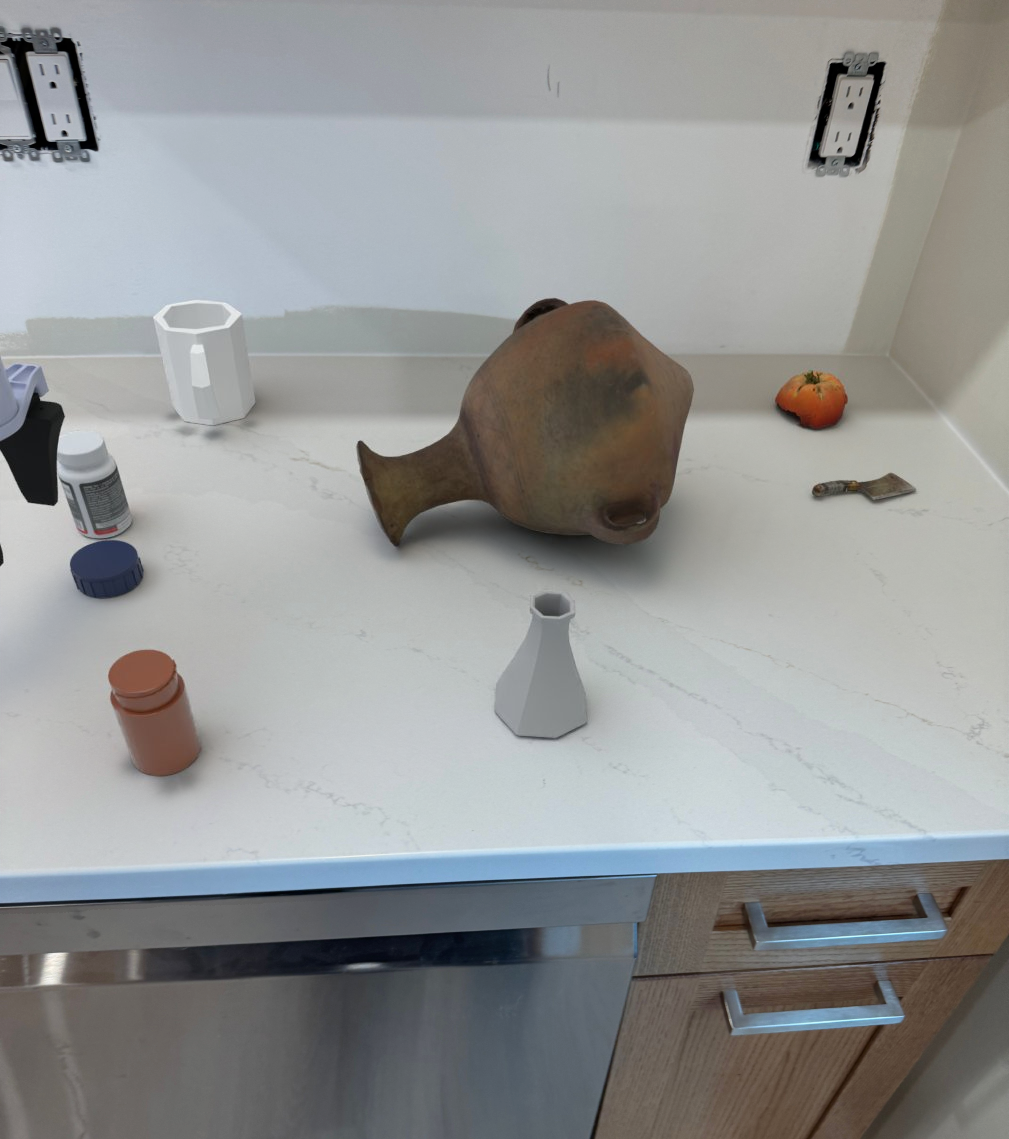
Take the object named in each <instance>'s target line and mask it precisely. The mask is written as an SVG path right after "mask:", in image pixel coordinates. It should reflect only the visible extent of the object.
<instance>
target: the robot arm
mask: <svg viewBox="0 0 1009 1139" xmlns="http://www.w3.org/2000/svg"><path fill="white" fill-rule="evenodd" d="M49 391H50V390H49V386H48V383H47V381H46V377H45V375H44V371H43V368H42V366H41V365H37V364H30V363H21V362H13V363H12V364H10V365H9V366H8V367H6V368H5V366H4V362H3V359H2V356H0V453H1V454H2V456H3V457H4V460H5V461H6V463H7V465H8V467H9V469H10V472H11V474H12V476H13V479H14V481H15V483H16V485H17V487H18V489H19V491H20V493H21V495H22V496H23V498H24V500H25V501H26V502H27V503H28V504H33V505H42V506H51V507H55V506H56V505H57V504H58V502H59V483H58V472H57V466H58V460H57V449H58V442H59V437H60V436H61V430H62V427H63V424H64V421H65V418H66V415H65V412H64V409H63V406H62V404H60V403H58V402H55V401H49V400H41V398H42V397H44V396H45V395H46V394H47V393H48V392H49ZM4 562H5V560H4V552H3V548H2V544H1V543H0V567H2V566H3V565H4Z"/></svg>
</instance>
